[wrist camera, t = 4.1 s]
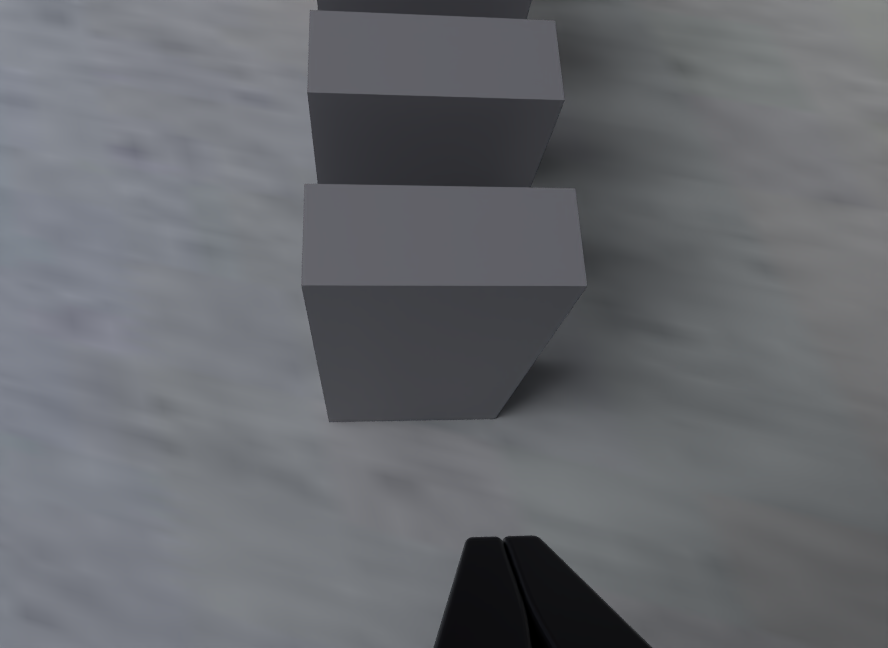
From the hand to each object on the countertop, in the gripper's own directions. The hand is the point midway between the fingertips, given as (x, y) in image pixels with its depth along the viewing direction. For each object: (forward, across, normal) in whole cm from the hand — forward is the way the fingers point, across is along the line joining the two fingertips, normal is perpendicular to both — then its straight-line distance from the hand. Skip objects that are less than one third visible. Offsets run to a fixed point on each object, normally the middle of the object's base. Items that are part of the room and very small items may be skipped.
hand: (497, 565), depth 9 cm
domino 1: (+13, 0, +5) cm, 14 cm away
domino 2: (+16, 0, +2) cm, 16 cm away
